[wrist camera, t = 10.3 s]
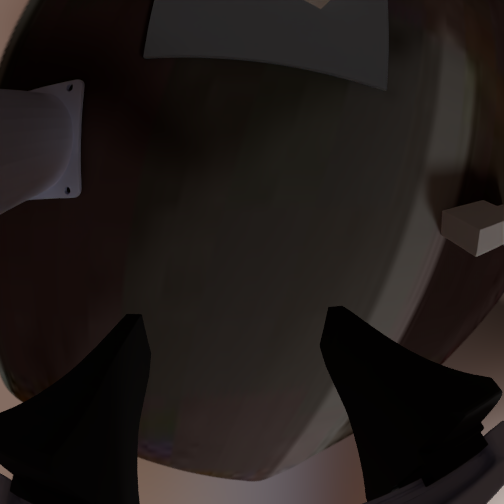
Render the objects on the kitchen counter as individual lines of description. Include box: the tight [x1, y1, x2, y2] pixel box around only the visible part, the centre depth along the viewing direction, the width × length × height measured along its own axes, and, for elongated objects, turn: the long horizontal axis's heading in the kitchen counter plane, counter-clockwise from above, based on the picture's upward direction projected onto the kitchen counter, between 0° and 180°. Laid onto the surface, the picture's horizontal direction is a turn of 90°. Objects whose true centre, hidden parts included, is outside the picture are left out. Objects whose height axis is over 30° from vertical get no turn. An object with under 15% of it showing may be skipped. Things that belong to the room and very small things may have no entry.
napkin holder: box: [441, 200, 504, 257], centre depth 19 cm, size 15×11×6 cm
